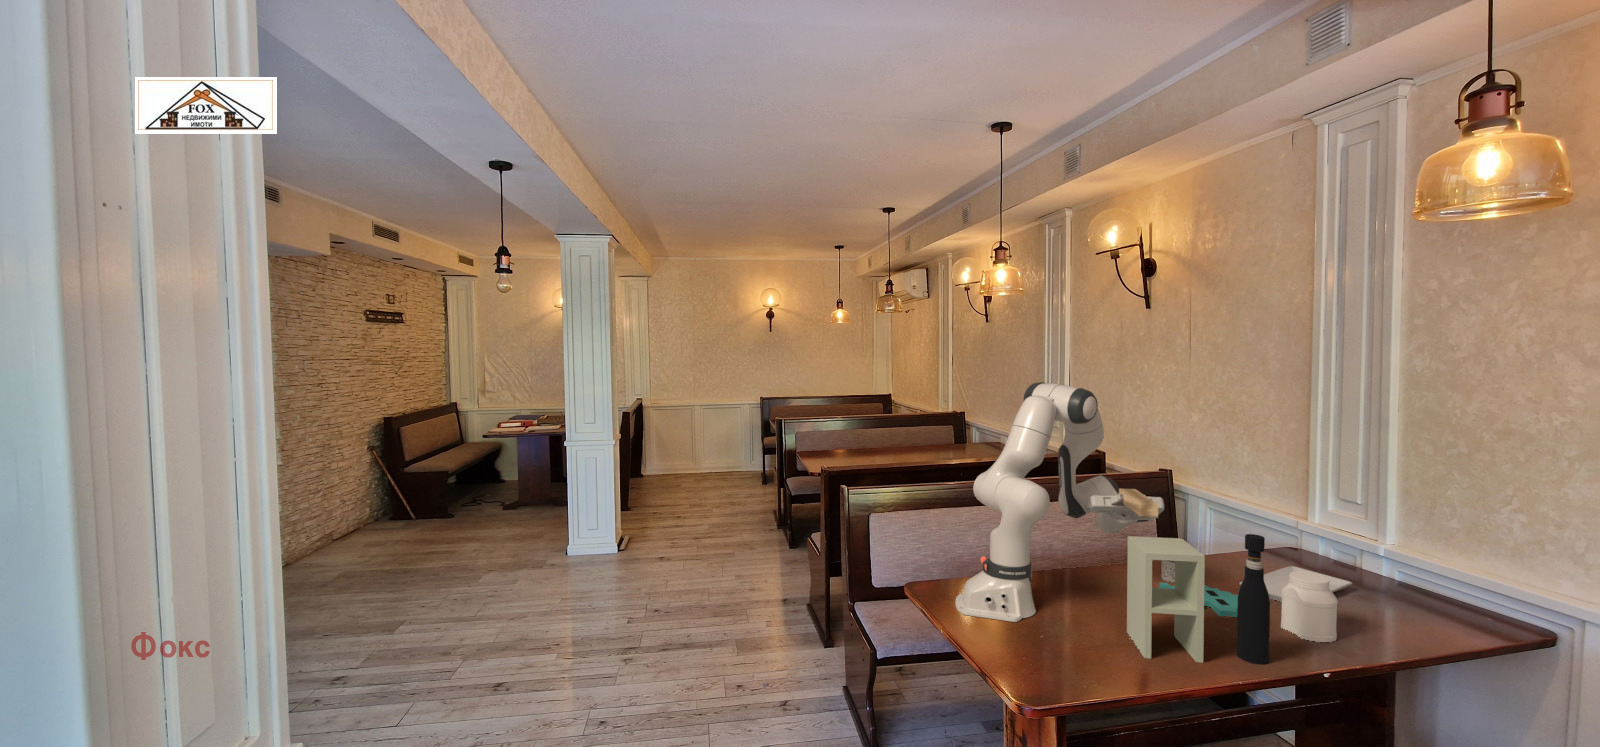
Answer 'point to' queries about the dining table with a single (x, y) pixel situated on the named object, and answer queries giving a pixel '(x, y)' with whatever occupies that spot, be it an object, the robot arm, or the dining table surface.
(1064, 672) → the dining table surface
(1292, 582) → the jar
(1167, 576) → the grey speckled cup
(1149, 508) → the block
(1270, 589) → the tray
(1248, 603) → the wine bottle
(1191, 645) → the shelf stand
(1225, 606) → the alien figure
